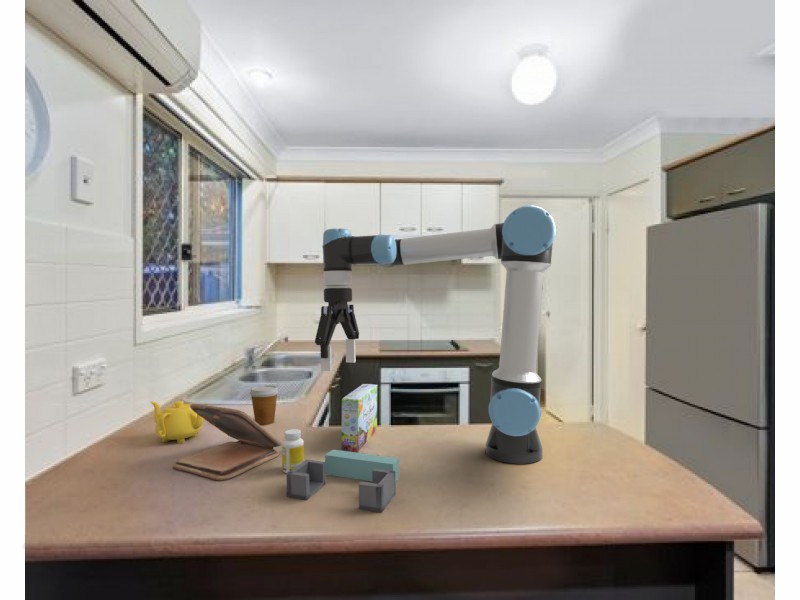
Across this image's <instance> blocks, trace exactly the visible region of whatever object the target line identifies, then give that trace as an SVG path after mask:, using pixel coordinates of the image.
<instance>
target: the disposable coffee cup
mask: <svg viewBox="0 0 800 600" xmlns="http://www.w3.org/2000/svg"><path fill="white" fill-rule="evenodd" d="M249 394H250V396H251V403H252V409H253V410H252V411H253V415H254V421H255V422H257V423H258V424H259V425H260V426H266V425H271V424H274V423H275V420H276V419H275V418H276V408H277V407H276V406H277V400H278V399H277V398H278V394H279V389H278V386H276V385H271V384H269V385H266V384H265V385H257V386H253V387H252V388H251V389H250V392H249Z"/></svg>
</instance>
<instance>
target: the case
mask: <svg viewBox="0 0 800 600" xmlns="http://www.w3.org/2000/svg"><path fill="white" fill-rule="evenodd" d="M190 408H191V409H192V410H193V411H194V412H195V413H197V414H198V415H199V416H201V417H202V418H204V421H206V422H208V423H209V424H211V425H212V426H213V427H215V428H217V429H218V430H219V431H221V432H223V433H224V434H225V435H226V436H228V437H230V438H232V439H235V440H237V441H227V442H223V443H220V444H218V445H215V446H212V447H210V448H208V449H204V450H201V451H198V452H197V453H194V454H190V455H188V456H185V457H182V458H180V459H179V458H178V460H177V461H175V462H174V463H173V465H172V466H173V467H172V468H174V469H175V470H179V471H182V472H186V473H190V474H194V475H197V476H200V477H204V478H207V479H211V480H213V481H226V480H231V479H232V478H235V477H237V476H239V475H241V474H243V473H245V472H247V471H251V470H252V469H254V468H256V467H258V466H260V465H263V464H265V463H266V462H269V461H271V460H273V459H275V458H278V457H279V455H280V452H279V451H278V450H276V449H274V448H276V447H277V448H278V447H282V442H281V441H280V440H278V438H277V437H275V436H274V435H272V434H271V433H270V432H269V431H267V430H266V428H264V427H263V426H262V425H259V424H258V423H257V422H255V419H253V418H252V417H251V416H249V415H248V414H247V413H245V412H244V411H242V410H240V409H236V408H229V407H222V406H221V407H220V406H214V405H208V404H207V405H206V404H200V403H199V404H198V403H190Z"/></svg>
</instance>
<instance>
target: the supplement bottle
mask: <svg viewBox="0 0 800 600" xmlns="http://www.w3.org/2000/svg"><path fill="white" fill-rule="evenodd" d="M304 461H305V441H304V439H303V438H302V431H301V429H298V428H294V429H293V428H292V429H288V430H285V431H284V440H283V441H282V442H281V462H282V463H281V464H282V465H281V466H282V467H281V469H282V472H283V473H285V474H286V473H288V472H289V471H291V470H292V469H293V468H295V467H296V466H298V465H299V464H301V463H302V462H304Z"/></svg>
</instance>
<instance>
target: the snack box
mask: <svg viewBox="0 0 800 600" xmlns="http://www.w3.org/2000/svg"><path fill="white" fill-rule="evenodd" d="M377 430H378V384H373V383H362V384H361V385H359V386H358V387H357V388H355V389H354V390H353V391H351V392H349V393H348V394H347V395H345V396H344V397H343V398H342V399H341V438H340V439H341V441H340V444H341V446H340V447H341V448H340V451H348V452H356V453H359V451H360V450H361V449H362V447H363V446H364V445H365V444H366V442H368V440H369V439H370V438H371V437H372V436H373V435H374V434H375V432H376V431H377Z"/></svg>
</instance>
